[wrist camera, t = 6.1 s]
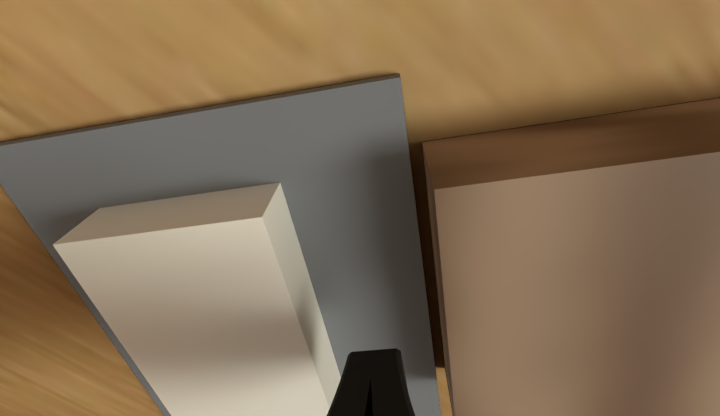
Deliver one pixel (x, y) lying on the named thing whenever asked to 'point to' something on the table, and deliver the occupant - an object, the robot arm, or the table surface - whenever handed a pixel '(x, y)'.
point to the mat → (258, 167)
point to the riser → (581, 265)
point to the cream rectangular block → (210, 301)
